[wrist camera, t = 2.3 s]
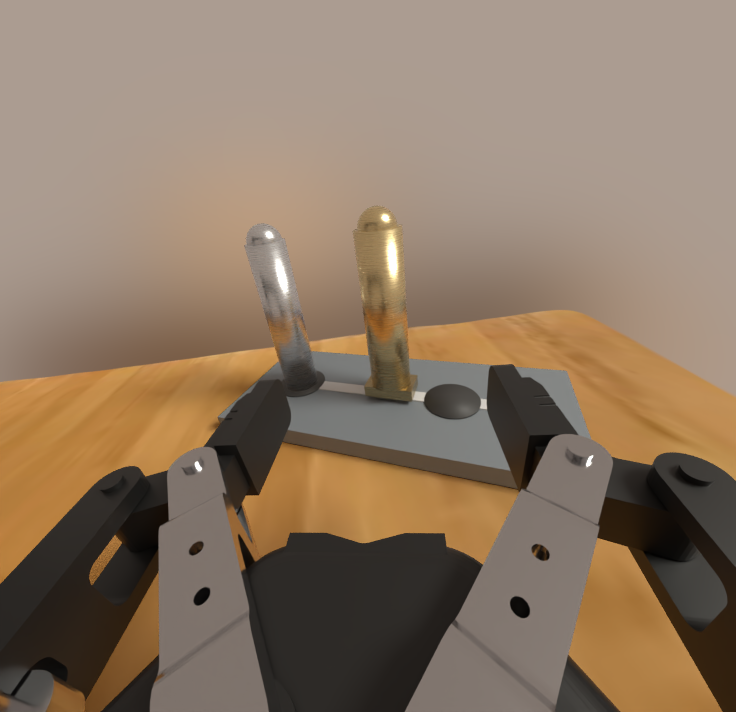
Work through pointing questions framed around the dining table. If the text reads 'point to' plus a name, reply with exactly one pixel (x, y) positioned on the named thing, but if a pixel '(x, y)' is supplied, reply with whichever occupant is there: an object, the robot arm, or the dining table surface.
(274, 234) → the fixed leg
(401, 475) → the dining table surface
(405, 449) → the board
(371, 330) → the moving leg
